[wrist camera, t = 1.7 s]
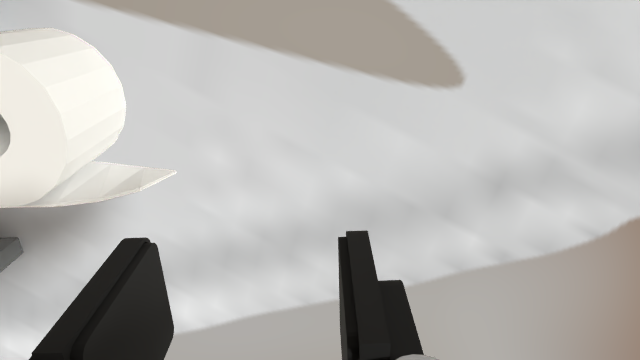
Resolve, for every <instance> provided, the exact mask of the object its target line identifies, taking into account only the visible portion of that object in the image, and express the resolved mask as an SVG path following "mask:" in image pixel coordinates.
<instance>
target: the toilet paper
mask: <svg viewBox="0 0 640 360" xmlns="http://www.w3.org/2000/svg"><path fill="white" fill-rule="evenodd" d="M125 114H126V102H125V97H124V92H123V87H122V84H121V82H120V81H119V79H118V77H117V75H116V73H115V71H114V69H113V67H112V66H111V64H110V63H109V62H108V61H107V60H106V59H105V58H104V57H103V56H102V55H101V54H100V53H99V51H98V50H97V49H96V48H95V47H93V46H92V45H90V44H88V43H87V42H85V41H84V40H82V39H80V38H79V37H77V36H76V35H74V34H71V33H67V32H64V31H60V30H57V29H53V28H32V29H21V30H13V31H4V32H0V208H24V207H59V206H68V205H76V204H84V203H93V202H100V201H104V200H108V199H112V198H116V197H119V196H123V195H127V194H131V193H135V192H139V191H142V190H144V189H146V188H148V187H150V186H152V185H154V184H156V183H158V182H160V181H162V180H164V179H166V178H168V177H170V176H172V175H174V174H176V170H167V169H159V168H150V167H141V166H132V165H124V164H115V163H106V162H97V161H93V160H94V159H95V158H97V157H98V156H99V155H101V154H102V153H103V152H104V151H106V150H107V149H108V148H109V147H110V146H111V145H113V144H114V143H115V142H116V140H117V138H118V136H119V134H120V133H121V131H122V129H123V127H124V122H125Z"/></svg>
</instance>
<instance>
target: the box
mask: <svg viewBox="0 0 640 360" xmlns="http://www.w3.org/2000/svg"><path fill="white" fill-rule="evenodd" d="M22 253H23V251H22V248H21V245H20V242H19V239H18V238H0V272H2V271H3V270H4V269H5V268H6V267H7V266H8V265H10V264H11V263H12V262H13V261H14V260H15V259H16V258H18V257H19V256H20V255H21V254H22Z"/></svg>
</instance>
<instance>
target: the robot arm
mask: <svg viewBox="0 0 640 360" xmlns="http://www.w3.org/2000/svg"><path fill="white" fill-rule="evenodd" d="M338 249H339V297H340V333H341V348H342V360H438V359H436V358H434V357H430V356H426V355H424V354H423V350H422V347H421V344H420V340H419V337H418V333H417V330H416V326H415V323H414V320H413V316H412V313H411V309H410V306H409V302H408V299H407V296H406V292H405V289H404V285H403V283H402V281H401V280H388V281H378V279H377V274H376V270H375V265H374V260H373V255H372V250H371V245H370V240H369V236H368V231H346V237H338ZM173 333H174V325H173V320H172V315H171V310H170V305H169V300H168V295H167V290H166V286H165V281H164V276H163V271H162V266H161V261H160V257H159V252H158V247H157V245H156V244H155V243H151V242H150V240H149V239H148V238H125V239H123V240H122V241H121V242H120V243H119V245H118V246H117V247H116V248H115V250H114V251H113V252H112V253H111V255H110V256H109V257H108V258H107V260H106V261H105V262H104V263H103V265H102V266H101V267H100V268H99V270H98V271H97V272H96V273H95V275H94V276H93V277H92V278H91V280H90V281H89V282H88V283H87V285H86V286H85V287H84V288H83V290H82V291H81V292H80V293H79V295H78V296H77V297H76V298H75V300H74V301H73V302H72V303H71V305H70V306H69V307H68V308H67V310H66V311H65V312H64V313H63V315H62V316H61V317H60V318H59V320H58V321H57V322H56V323H55V325H54V326H53V327H52V328H51V330H50V331H49V332H48V333H47V335H46V336H45V337H44V339H43V340H42V341H41V342H40V344H39V345H38V346H37V347H36V349H35V350H34V351H33V352H32V356H31V358H30V359H29V360H164V358H165V355H166V353H167V351H168V348H169V346H170V343H171V341H172V338H173Z"/></svg>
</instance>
